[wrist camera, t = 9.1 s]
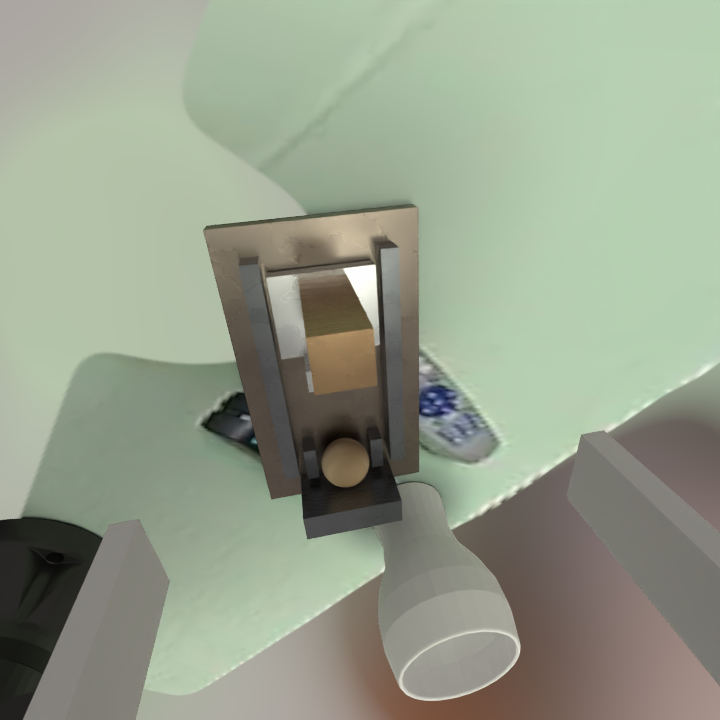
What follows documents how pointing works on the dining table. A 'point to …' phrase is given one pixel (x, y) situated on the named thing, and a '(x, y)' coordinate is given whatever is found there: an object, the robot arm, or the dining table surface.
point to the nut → (345, 462)
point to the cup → (440, 605)
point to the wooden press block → (328, 323)
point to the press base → (288, 376)
